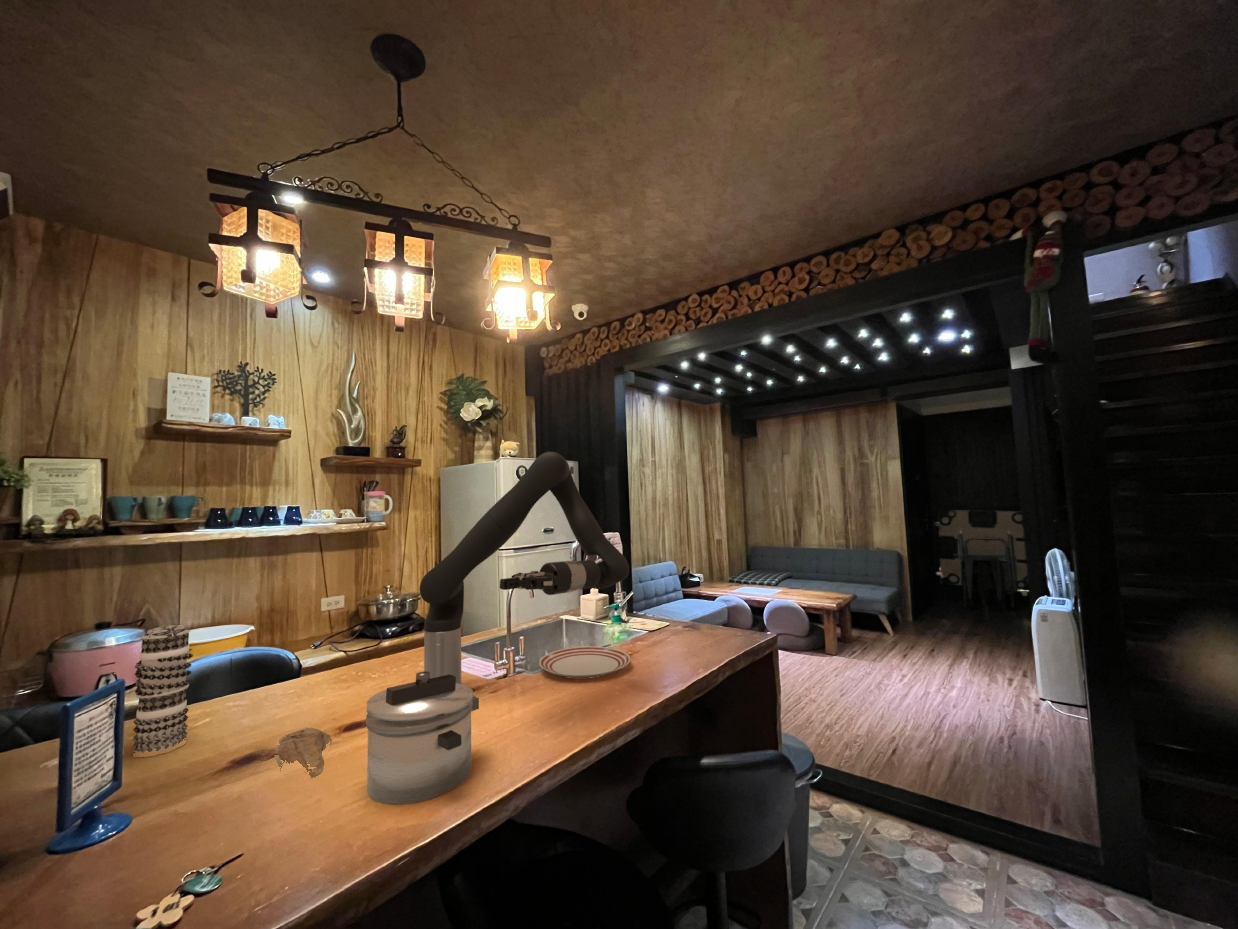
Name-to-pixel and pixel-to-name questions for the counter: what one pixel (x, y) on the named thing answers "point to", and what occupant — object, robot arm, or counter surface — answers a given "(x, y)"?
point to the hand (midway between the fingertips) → (501, 584)
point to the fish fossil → (303, 749)
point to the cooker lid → (420, 699)
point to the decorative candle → (162, 689)
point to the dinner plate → (584, 661)
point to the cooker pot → (418, 756)
